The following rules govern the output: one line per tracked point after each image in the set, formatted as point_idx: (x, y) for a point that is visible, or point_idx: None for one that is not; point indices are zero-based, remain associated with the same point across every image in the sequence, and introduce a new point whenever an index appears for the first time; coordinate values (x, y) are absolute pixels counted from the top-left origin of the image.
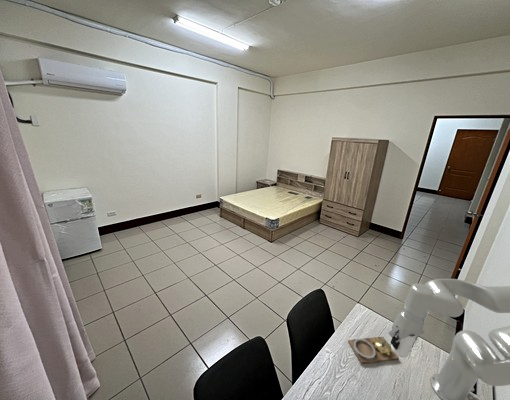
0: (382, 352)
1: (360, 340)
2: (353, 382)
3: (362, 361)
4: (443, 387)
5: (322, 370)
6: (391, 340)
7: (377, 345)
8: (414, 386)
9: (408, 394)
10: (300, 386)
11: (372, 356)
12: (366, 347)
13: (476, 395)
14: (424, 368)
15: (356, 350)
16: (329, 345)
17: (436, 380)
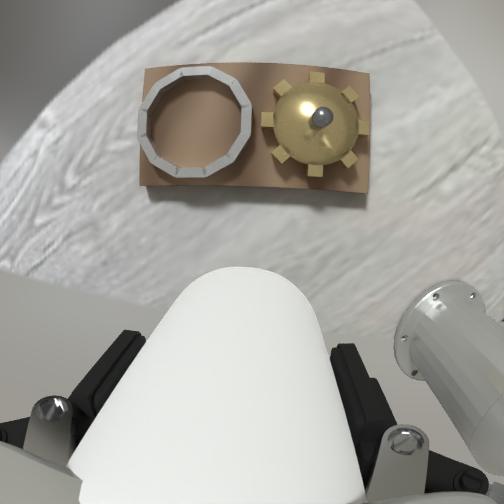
0: (282, 159)
1: (201, 75)
2: (80, 250)
3: (146, 182)
4: (421, 355)
5: (7, 197)
6: (109, 349)
7: (282, 116)
8: (336, 304)
9: None
10: None
11: (204, 171)
12: (218, 112)
13: None
14: (443, 248)
15: (138, 131)
16: (61, 96)
17: (433, 314)
